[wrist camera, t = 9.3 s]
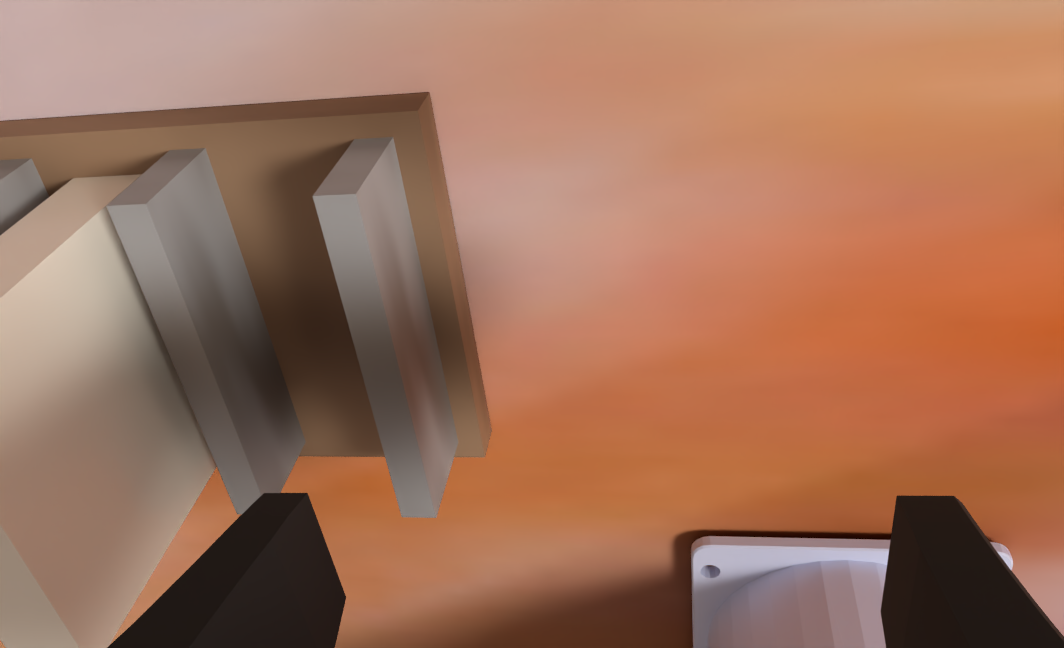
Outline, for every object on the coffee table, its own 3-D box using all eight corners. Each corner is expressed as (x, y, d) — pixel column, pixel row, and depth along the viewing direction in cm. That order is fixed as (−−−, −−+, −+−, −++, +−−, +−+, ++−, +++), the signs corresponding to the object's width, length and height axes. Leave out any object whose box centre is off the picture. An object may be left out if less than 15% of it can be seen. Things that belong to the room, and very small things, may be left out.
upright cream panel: (240, 426, 23) (93, 670, 17) (183, 426, 23) (19, 666, 17) (141, 174, 19) (-93, 380, 13) (73, 177, 19) (-186, 380, 13)
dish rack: (491, 430, 23) (465, 534, 20) (11, 430, 25) (-73, 522, 22) (429, 92, 18) (382, 165, 15) (-162, 132, 20) (-299, 202, 17)
